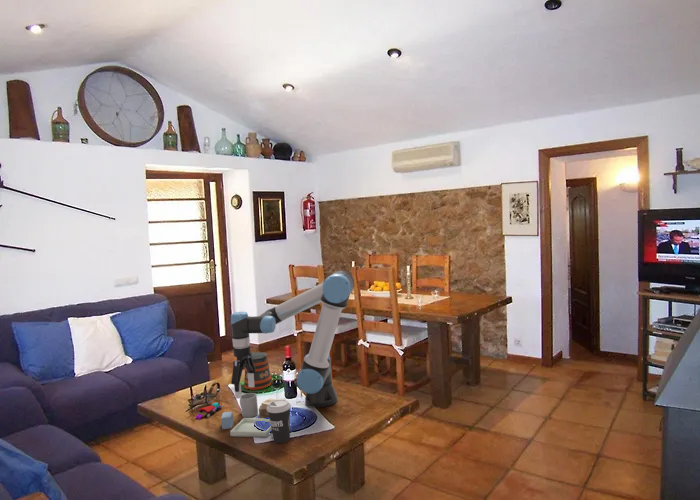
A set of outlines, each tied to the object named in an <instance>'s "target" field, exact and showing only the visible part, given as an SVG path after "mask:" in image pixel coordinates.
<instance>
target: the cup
mask: <svg viewBox="0 0 700 500" xmlns="http://www.w3.org/2000/svg"><path fill="white" fill-rule="evenodd" d="M257 397H258V396H257V393H254V392H248V393H244V394H242V398H241V399H240V398H239V405H240V408H241V415H242V417H243V418H255V417H257V415H259V407H258V398H257Z"/></svg>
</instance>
